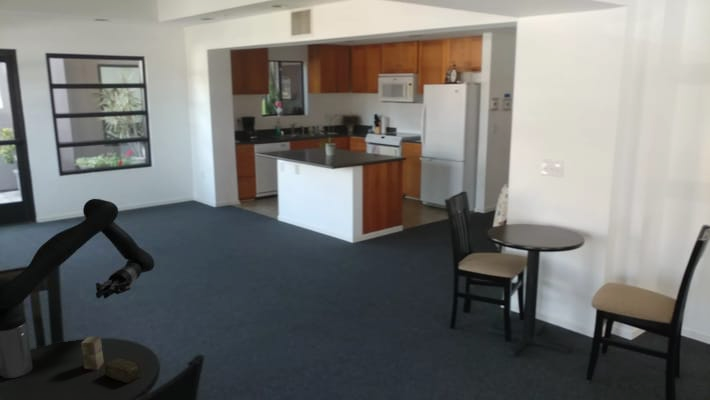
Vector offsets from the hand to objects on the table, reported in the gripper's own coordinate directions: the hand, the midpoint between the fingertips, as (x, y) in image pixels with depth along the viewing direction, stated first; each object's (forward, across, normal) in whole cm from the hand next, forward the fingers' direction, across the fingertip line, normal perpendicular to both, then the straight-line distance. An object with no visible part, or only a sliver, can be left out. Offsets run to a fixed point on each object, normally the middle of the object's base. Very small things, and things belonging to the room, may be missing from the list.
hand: (101, 295), depth 198 cm
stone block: (+17, +13, +22) cm, 31 cm away
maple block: (+10, 0, +22) cm, 24 cm away
